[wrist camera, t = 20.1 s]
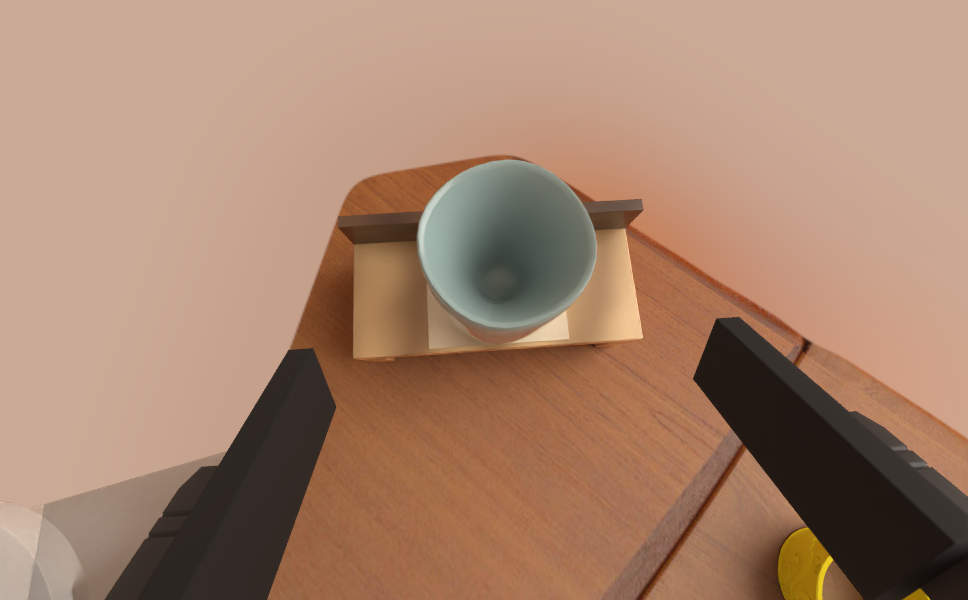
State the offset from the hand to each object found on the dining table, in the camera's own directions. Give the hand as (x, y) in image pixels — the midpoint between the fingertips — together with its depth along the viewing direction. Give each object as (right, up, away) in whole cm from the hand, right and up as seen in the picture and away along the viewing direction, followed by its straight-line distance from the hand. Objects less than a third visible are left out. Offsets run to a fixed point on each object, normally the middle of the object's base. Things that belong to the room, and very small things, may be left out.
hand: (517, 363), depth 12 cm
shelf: (0, +2, +19) cm, 19 cm away
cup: (0, +3, +13) cm, 13 cm away
